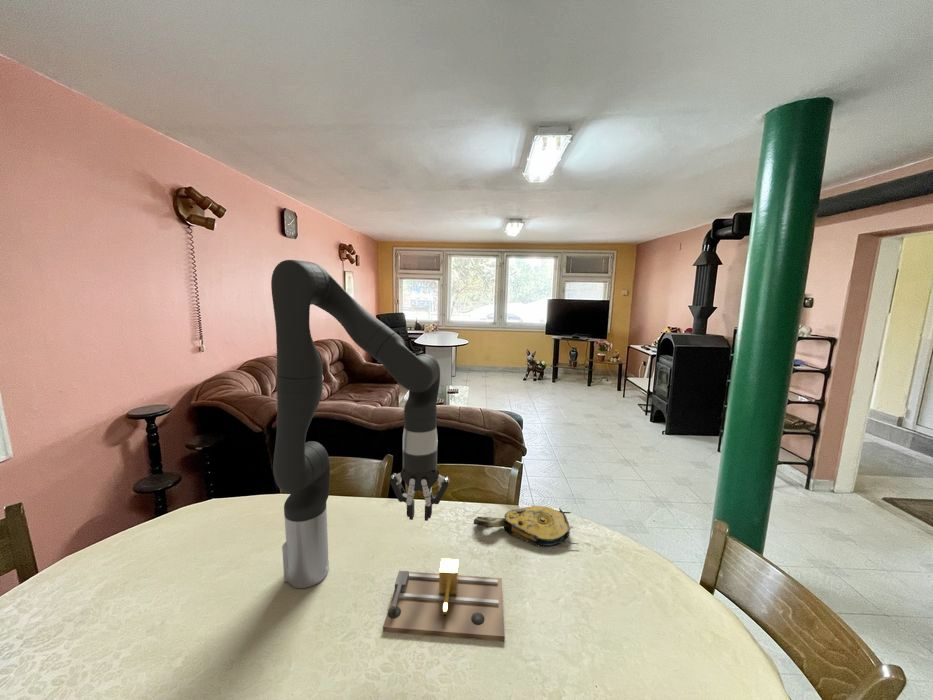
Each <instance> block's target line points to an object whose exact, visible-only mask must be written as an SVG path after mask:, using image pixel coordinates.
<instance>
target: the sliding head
mask: <svg viewBox="0 0 933 700" xmlns="http://www.w3.org/2000/svg"><path fill="white" fill-rule="evenodd" d="M459 562H460V561H459V559H456V558H455V559H453V558H452V559H451V558H441V561H440V566H439V567H440V568H439V573H438V574H439V595H445V600H444V607H443V615H444V616H446V615H447V608H448V600H449V596H457V586H458V575H459Z"/></svg>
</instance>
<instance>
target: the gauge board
mask: <svg viewBox="0 0 933 700" xmlns="http://www.w3.org/2000/svg"><path fill="white" fill-rule="evenodd" d="M502 580H503V579H502V578H501V577H489V576H488V577H487V576H477V575H474V576H473V575H464V574H463V575H460V574H458V586H457V596H449V600H448V608H447V615H446V616H444V615H443V607H444V600H445V595H439V573H434V572H418V571H417V572H416V571H408V570H399V571H398V573H397V576H396V579H395V582H394V591H393V594H392V597H391V600H390V603H389V607H388V610H387V612H386V615H385V619H384V622H383V626H382V632H383V633H395V634H407V635H417V636H418V635H419V636H432V637H443V638H457V639H469V640H470V639H471V640H482V641H493V642H495V641H496V642H505V636H506V635H505V622H504V620H505V617H504V600H503V598H504V597H503V581H502Z"/></svg>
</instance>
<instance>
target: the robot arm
mask: <svg viewBox="0 0 933 700" xmlns="http://www.w3.org/2000/svg"><path fill="white" fill-rule="evenodd" d="M270 281H271V282H270V284H271V286H270V287H271V298H272V305H273V312H274V313H273V315H274V323H275V336H276V337H275V339H276V340H275V341H276V395H277V396H276V400H277V402H276V403H277V404H276V405H277V407H276V410H277V411H276V415H277V416H276V435H275V445H274V452H273V453H274V454H273V464H272V465H273V466H272V470H273V477H274V481H275V483H276V485H277V487H278V489H279V490H281V492H283V493H285V494H287V495H288V494H289V496H288V497H287V499H286V500H285V501H284V504H283V515H284V516H283V517H284V528H285V529H284V531H285V532H284V534H285V542H284V543H283V544H282V546H281V547H282V549H281V550H282V566H283V567H282V568H283V581H284V583H289V585H290V586H291V587H293V588H296V589H307V588H310V587H313V586H316V585H318V584H319V583H320V582H322V581H323V580H324V579H325V578H326V576H327V575H328V573H329V569H330V567H329V566H330V564H329V563H330V561H329V538H328V515H327V514H328V513H327V512H328V511H327V509H328V508H327V501H328V498H329V495H330V485H331V484H330V483H331V481H330V480H331V479H330V477H331V463H330V457H329V453H328V452H327V450H326V448H325V446H323V444H321V443H320V442H318V441H313V440H310V441H306V439H307V432H308V431H309V430H308V429H309V427H310V424H311V423H312V419H313V418H314V416H315V413H316V412H317V409H318V406H319V404H320V402H321V399H322V395H323V385H324V384H323V383H324V381H323V379H324V376H323V375H324V369H323V367H324V366H323V361H322V359H321V356H320V354H319V351H318V349H317V346H316V344H315V343H314V342H315V341H314V340H313V336H312V334H311V328H310V327H311V326H310V314H311V313H310V309H311V305H314V306H315V307H318V308H320V309H321V310H323V312H325V313H328V314H329V315H331V316H332V317H333V318H334V319H335V320H337V321H338V323H340V325H341V326H342V327H343V329H344V330H345V332H346V333H347V335H348V336H349V338H351V340H352V341H353V342H354V343H355V344H356V345H357V346H358V347H359V348H361V349H362V350H363V351H365V353H366V354H368V355H369V356H370V357H372V358H373V359H374V360H376V361H377V362H379V363H380V364H381V365H383V367H384V369H386V371H387V373H389V374H390V375H391V377H392V378H393V379H394V380H395V381H396V383H397V384H398V385H400V386H401V387H402V388H404V389H406V390H408V397H407V399H406V400H407V401H406V402H405V404H404V408H403V433H402V470H401V471H400V472H398V473H396V472H393V473H392V474H391V476H390V478H389V481H388V482H389V484H390V486H391V488H392V490H393V492H394V494H395V496H396V499H397V501H398V502H399V503H405V504H406V516H407V518H409V520H410V521H413V520H414V517H415V500H414V498H415V493H416V492H419V491H420V492H422V493H423V498H424V502H425V504H424V521H425V522H428V521H429V519H431V517H432V514H433V505H439V504H440V502H441V500H442V498H443V496H444V495H445V492H446V490H447V489H448V487H449V484H450V476H448V475H446V476H443V475H441V474H440V472H439V470H438V446H439V445H438V444H439V440H438V429H437V423H438V422H437V419H438V418H437V416H438V414H437V410H438V409H437V402H438V396H439V390H440V384H441V383H440V382H441V381H440V380H441V368H440V364H439V362H438V361H437V359H436V358H435V357H434V356H433V355H430V354H427V353H422V354H418V355H416V354H415V353H413V351H411V350H410V349H409V348H408V347H407V346H406V341H405V340H404V339H403V338H402V336H400V335H399V334H398V333H397V332H396V331H394V330H393V329H392V328H390V327H389V326H387V325H386V324H385V323H384V322H382V321H381V320H379V319H378V318H377V317H375V316H374V315H373V314H372V313H370V312H369V311H368V310H367V309H366V308H365V307H364V306H362V305H361V304H360V303H358V301H356V299H354V298H353V296H351V294H349V292H347V291H346V290H345V289H344V288H343V287H342V286H341V284H339V283H338V281H337V280H336V279H335V278H334V277H333V276H332V275H331V274H330V273H329V272H328V271H327V270H326V269H325V268H324V267H323V266H321V265H320V264H318V263H316V262H311V261H306V260H305V261H303V260H299V259H298V260H297V259H284V260H282V261H280V262H279V263H278V264H277V265H276V266H275V267H274V270H273V271H272V274H271V280H270ZM402 481H403V482H404V484H405V485H406V486H407V488H408V489H407V492H406V491H405V488H404V486H403V484H402ZM436 482H438V483H437V484H438V485H437V486H438V489H437V491H436V492H435V493H436V494H433V491H432V489H433V485H434V484H435V483H436Z"/></svg>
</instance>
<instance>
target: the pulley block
mask: <svg viewBox="0 0 933 700" xmlns="http://www.w3.org/2000/svg"><path fill="white" fill-rule="evenodd" d="M554 509H555V508H553V507H548V506H543V505H532V506H531V505H530V506H528V507H521V508H516V509H511V510H508V511H507V512H506V513H505V514H504V517H492V516H477V517H475V518H474V519H473V525H477V526H480V527H484V528H500V527H502V528H503V529H504V532H505V533H507V534H508V535H510V536H512V537H515V538H517V539H520V540H521V541H524V542H526V543H527V544H531V545H532V546H535V547H540V548H554V547H558V546H560V545H562V544H568V545H569V544H571V545H579V543H575V542H568V541H567V539H568V537H569V536H570V534H571V531H570V530H571V528H570V525H569V523H570V522H569V521H568V518H567V515H566V514H571V513H572V512H571V511H563V510H562V508H561V507H560V508H558V509H559V510H558V509H555V510H554ZM538 545H539V546H538Z"/></svg>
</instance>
